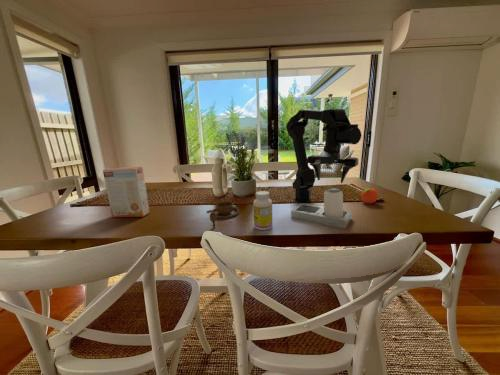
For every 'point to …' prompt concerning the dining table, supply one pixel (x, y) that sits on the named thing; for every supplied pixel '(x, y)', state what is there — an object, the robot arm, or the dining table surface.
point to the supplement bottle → (262, 211)
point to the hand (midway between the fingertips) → (329, 181)
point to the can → (333, 202)
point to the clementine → (369, 195)
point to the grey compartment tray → (320, 215)
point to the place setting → (223, 211)
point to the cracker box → (126, 191)
